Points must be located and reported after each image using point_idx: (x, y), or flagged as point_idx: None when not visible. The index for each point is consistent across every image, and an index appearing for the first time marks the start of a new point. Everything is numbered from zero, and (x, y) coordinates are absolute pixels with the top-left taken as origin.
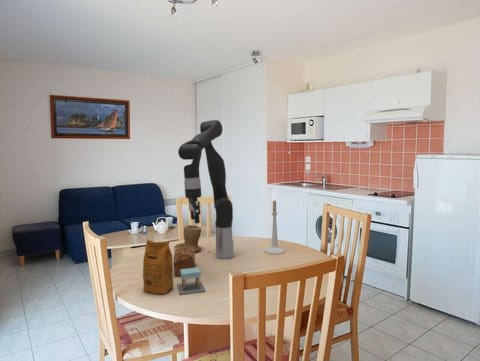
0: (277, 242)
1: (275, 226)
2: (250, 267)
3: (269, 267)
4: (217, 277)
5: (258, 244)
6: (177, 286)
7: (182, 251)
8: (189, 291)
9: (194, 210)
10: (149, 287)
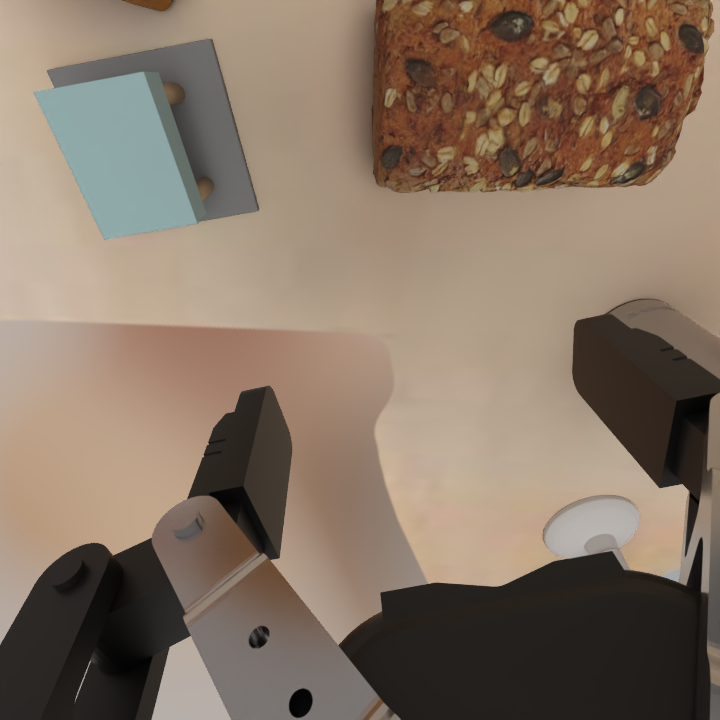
0: None
1: None
2: (424, 436)
3: (405, 494)
4: (321, 296)
5: None
6: (177, 45)
7: (546, 74)
8: None
9: (46, 662)
10: None
